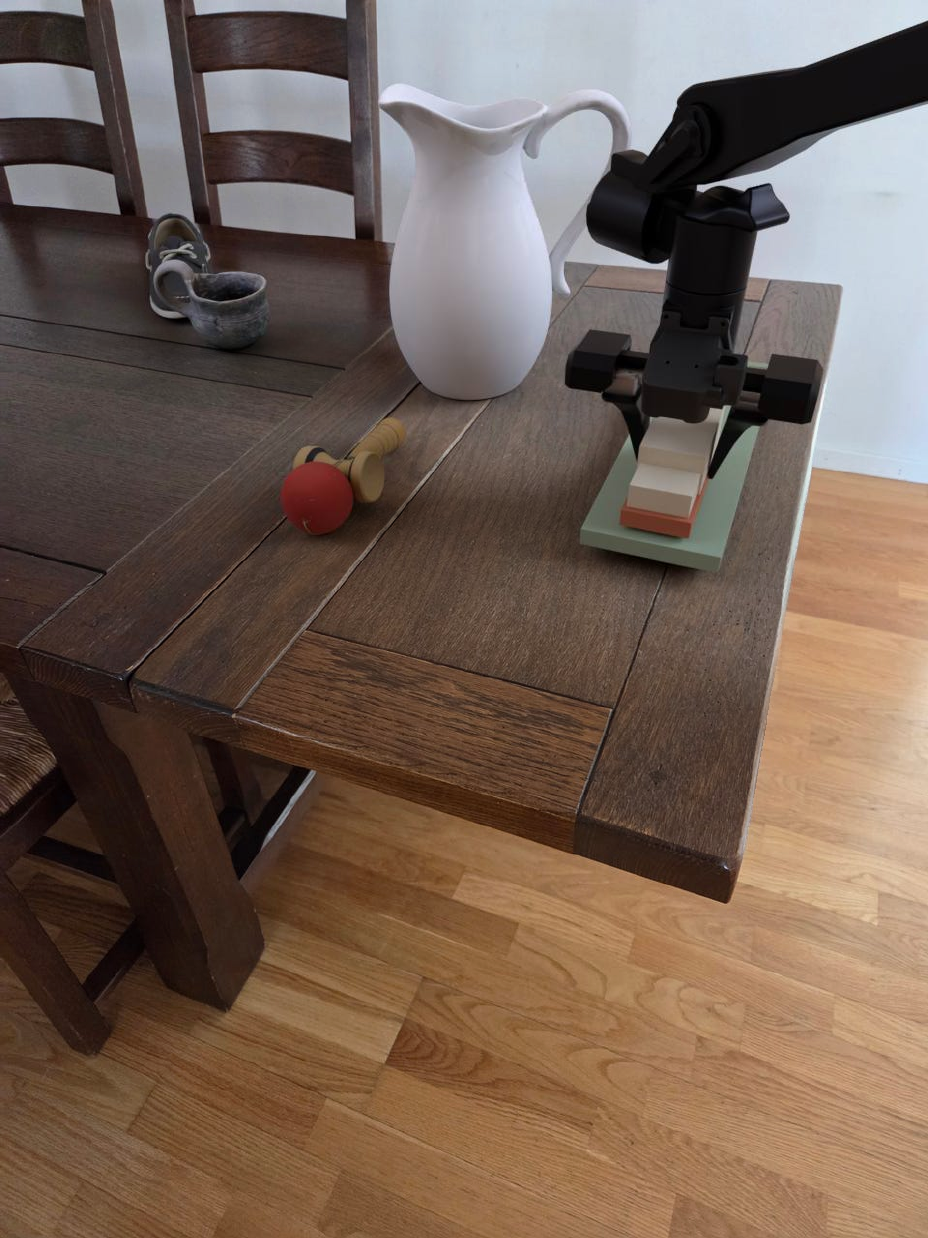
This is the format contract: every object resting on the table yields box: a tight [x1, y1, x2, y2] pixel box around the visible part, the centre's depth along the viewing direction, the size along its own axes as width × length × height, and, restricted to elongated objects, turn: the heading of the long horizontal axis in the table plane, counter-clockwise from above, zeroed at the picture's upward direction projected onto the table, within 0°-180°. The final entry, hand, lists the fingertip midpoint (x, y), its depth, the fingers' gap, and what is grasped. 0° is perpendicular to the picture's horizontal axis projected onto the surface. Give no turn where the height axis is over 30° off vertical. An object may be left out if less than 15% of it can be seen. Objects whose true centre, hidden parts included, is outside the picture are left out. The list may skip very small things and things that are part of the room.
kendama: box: [280, 417, 407, 536], centre depth 77 cm, size 8×6×18 cm
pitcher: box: [377, 83, 633, 401], centre depth 87 cm, size 24×17×28 cm
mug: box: [154, 260, 271, 350], centre depth 100 cm, size 10×12×10 cm
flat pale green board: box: [578, 360, 769, 574], centre depth 80 cm, size 36×11×3 cm, turn 158°
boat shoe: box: [145, 212, 212, 319], centre depth 115 cm, size 25×9×8 cm, turn 13°
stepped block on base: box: [619, 406, 725, 539], centre depth 70 cm, size 14×6×5 cm, turn 158°
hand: (675, 470), depth 72 cm, fingers closed on stepped block on base, 5 cm apart
